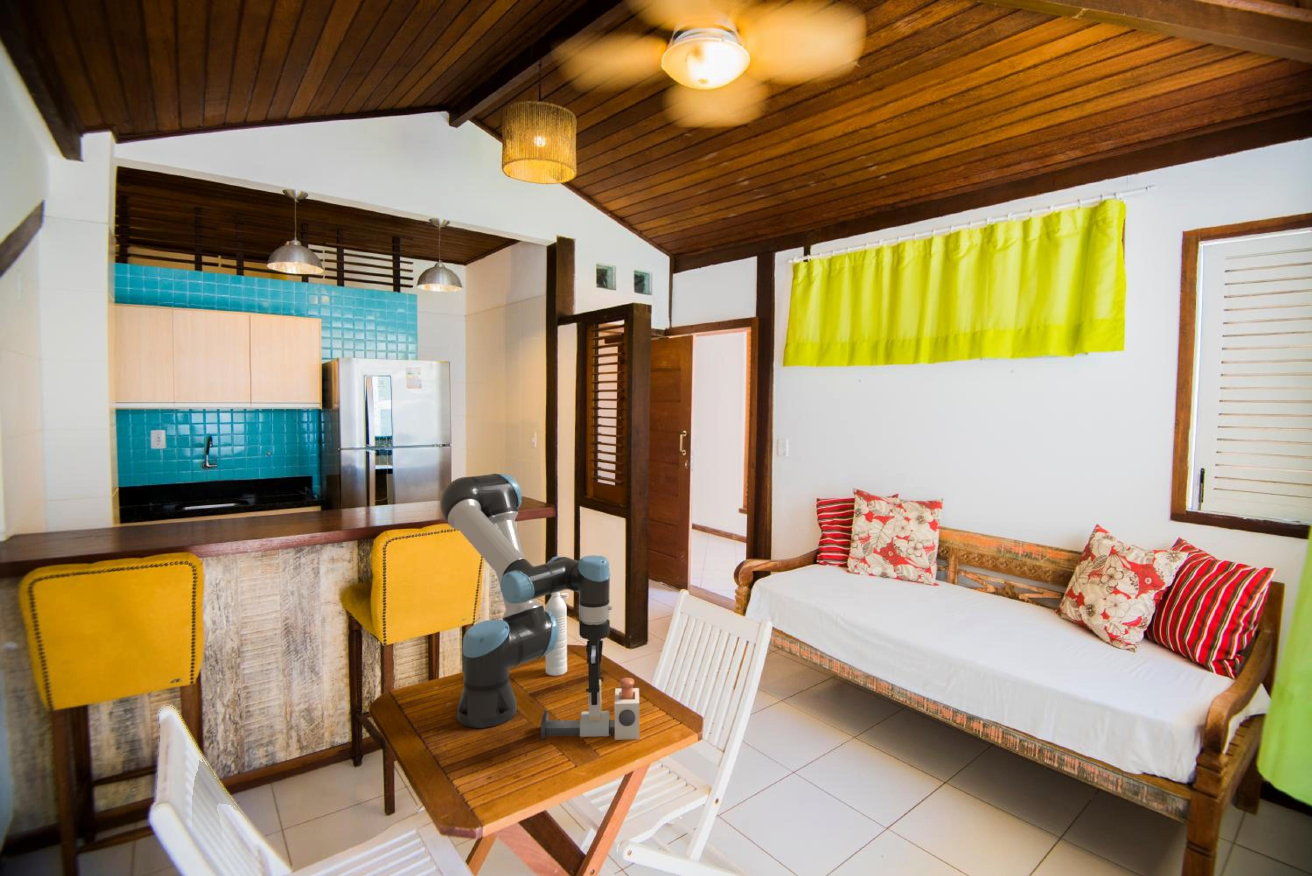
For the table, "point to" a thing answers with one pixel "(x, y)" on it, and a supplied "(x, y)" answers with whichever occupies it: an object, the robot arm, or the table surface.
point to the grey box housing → (626, 716)
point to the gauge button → (626, 688)
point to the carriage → (595, 722)
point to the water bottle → (558, 655)
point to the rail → (565, 727)
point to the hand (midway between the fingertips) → (595, 711)
